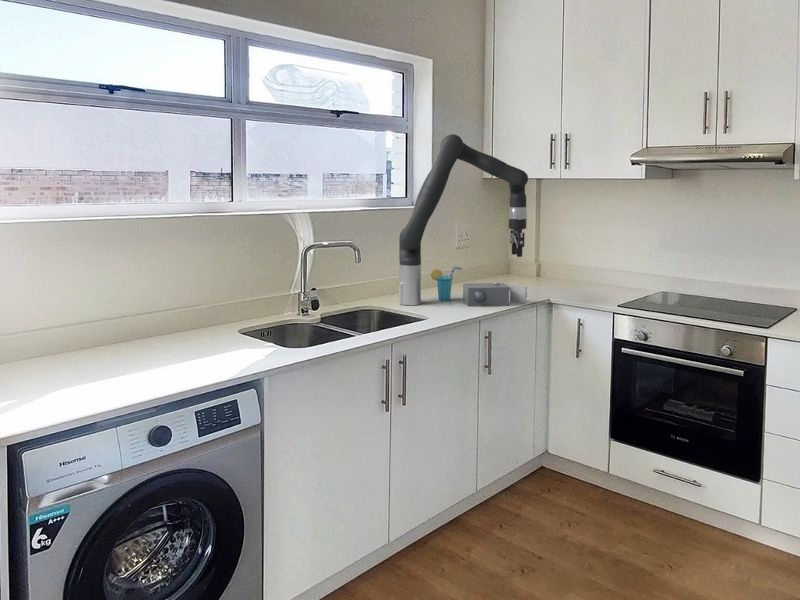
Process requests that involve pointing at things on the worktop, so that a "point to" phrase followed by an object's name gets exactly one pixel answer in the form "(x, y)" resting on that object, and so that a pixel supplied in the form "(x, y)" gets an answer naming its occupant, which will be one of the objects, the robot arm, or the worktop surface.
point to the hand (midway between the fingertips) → (516, 255)
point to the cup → (443, 284)
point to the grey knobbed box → (486, 294)
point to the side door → (518, 293)
